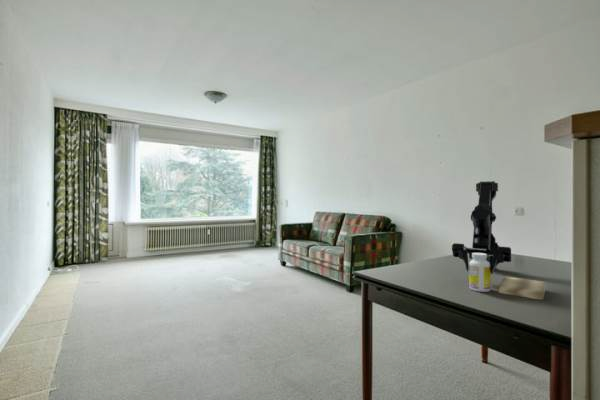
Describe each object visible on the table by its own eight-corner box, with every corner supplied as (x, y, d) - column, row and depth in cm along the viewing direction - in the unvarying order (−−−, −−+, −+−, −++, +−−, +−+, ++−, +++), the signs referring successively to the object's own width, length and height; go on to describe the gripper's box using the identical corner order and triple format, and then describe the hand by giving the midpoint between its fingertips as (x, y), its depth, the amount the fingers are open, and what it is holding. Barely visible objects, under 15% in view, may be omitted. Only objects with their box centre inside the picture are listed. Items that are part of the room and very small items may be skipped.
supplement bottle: (489, 287, 115) (489, 252, 114) (491, 293, 109) (491, 256, 108) (468, 285, 118) (468, 251, 117) (469, 291, 112) (469, 254, 111)
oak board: (499, 292, 109) (499, 284, 109) (504, 284, 118) (504, 276, 118) (543, 300, 101) (543, 290, 101) (545, 290, 111) (545, 282, 110)
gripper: (511, 251, 120) (511, 287, 112) (456, 247, 131) (452, 280, 122) (511, 233, 114) (511, 270, 105) (453, 230, 124) (449, 264, 115)
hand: (479, 271), depth 112 cm, fingers open, 7 cm apart
